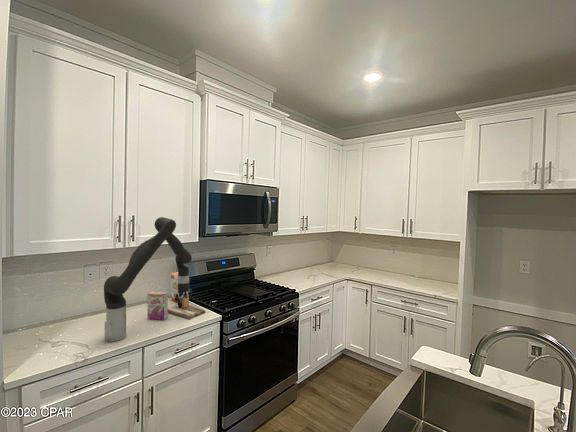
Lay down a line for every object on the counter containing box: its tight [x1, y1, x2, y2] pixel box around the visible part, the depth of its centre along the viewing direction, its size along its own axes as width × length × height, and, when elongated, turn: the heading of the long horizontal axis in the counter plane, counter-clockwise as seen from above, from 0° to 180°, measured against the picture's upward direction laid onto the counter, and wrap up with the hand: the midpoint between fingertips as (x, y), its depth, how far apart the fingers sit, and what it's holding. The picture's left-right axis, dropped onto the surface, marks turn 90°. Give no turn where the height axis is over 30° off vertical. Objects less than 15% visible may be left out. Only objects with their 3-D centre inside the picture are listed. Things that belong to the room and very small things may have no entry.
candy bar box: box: [147, 291, 169, 321], centre depth 181 cm, size 11×5×16 cm, turn 84°
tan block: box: [181, 297, 190, 308], centre depth 198 cm, size 4×6×6 cm, turn 61°
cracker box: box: [170, 271, 185, 304], centre depth 212 cm, size 14×6×21 cm, turn 49°
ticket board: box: [168, 305, 206, 321], centre depth 192 cm, size 14×22×3 cm, turn 60°
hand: (183, 305), depth 199 cm, fingers open, 5 cm apart
